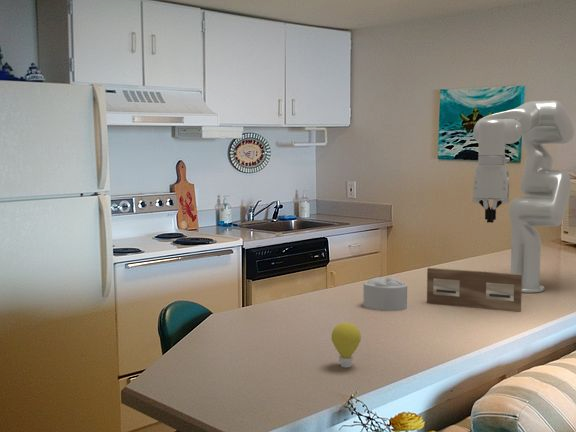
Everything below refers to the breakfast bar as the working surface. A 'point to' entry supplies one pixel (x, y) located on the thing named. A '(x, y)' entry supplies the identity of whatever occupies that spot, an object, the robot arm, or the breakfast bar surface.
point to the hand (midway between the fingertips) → (490, 222)
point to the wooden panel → (474, 289)
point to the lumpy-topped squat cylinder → (385, 294)
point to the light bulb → (346, 342)
